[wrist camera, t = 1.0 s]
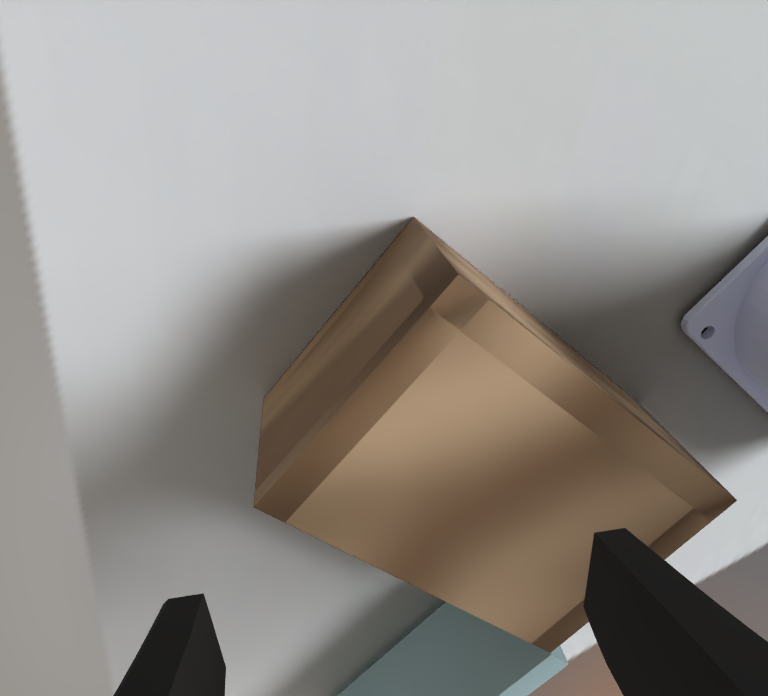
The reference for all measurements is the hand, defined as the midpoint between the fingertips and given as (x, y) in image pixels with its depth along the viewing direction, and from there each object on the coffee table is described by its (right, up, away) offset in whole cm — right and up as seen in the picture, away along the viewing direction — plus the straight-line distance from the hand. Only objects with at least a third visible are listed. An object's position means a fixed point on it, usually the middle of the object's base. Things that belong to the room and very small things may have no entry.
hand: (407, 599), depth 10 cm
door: (+1, -8, +15) cm, 18 cm away
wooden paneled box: (+3, +3, +10) cm, 11 cm away
